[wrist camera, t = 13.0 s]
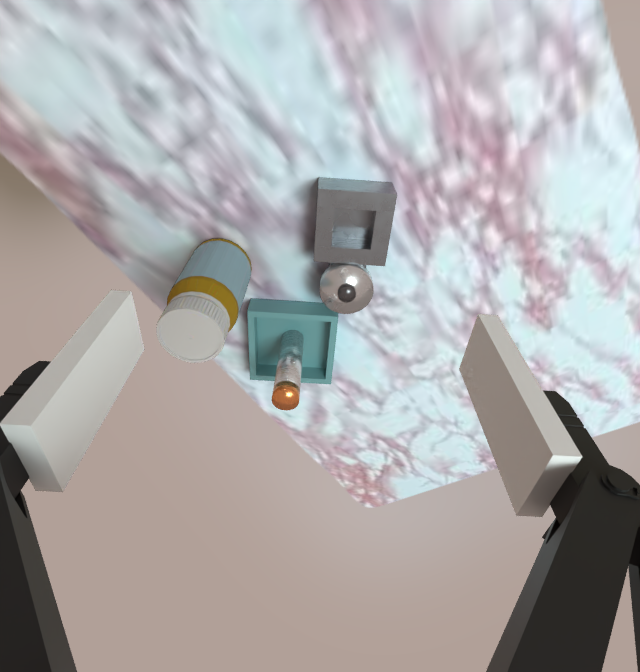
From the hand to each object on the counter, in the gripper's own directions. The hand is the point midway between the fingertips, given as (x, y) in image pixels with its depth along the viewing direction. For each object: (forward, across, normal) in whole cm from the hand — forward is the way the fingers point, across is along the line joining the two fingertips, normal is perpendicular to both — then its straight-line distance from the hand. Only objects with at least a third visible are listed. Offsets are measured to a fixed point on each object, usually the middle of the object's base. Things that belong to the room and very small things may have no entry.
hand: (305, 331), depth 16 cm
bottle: (+33, -10, -14) cm, 37 cm away
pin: (+32, -2, -24) cm, 40 cm away
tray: (+32, -2, -24) cm, 40 cm away
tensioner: (+32, +4, -10) cm, 34 cm away
